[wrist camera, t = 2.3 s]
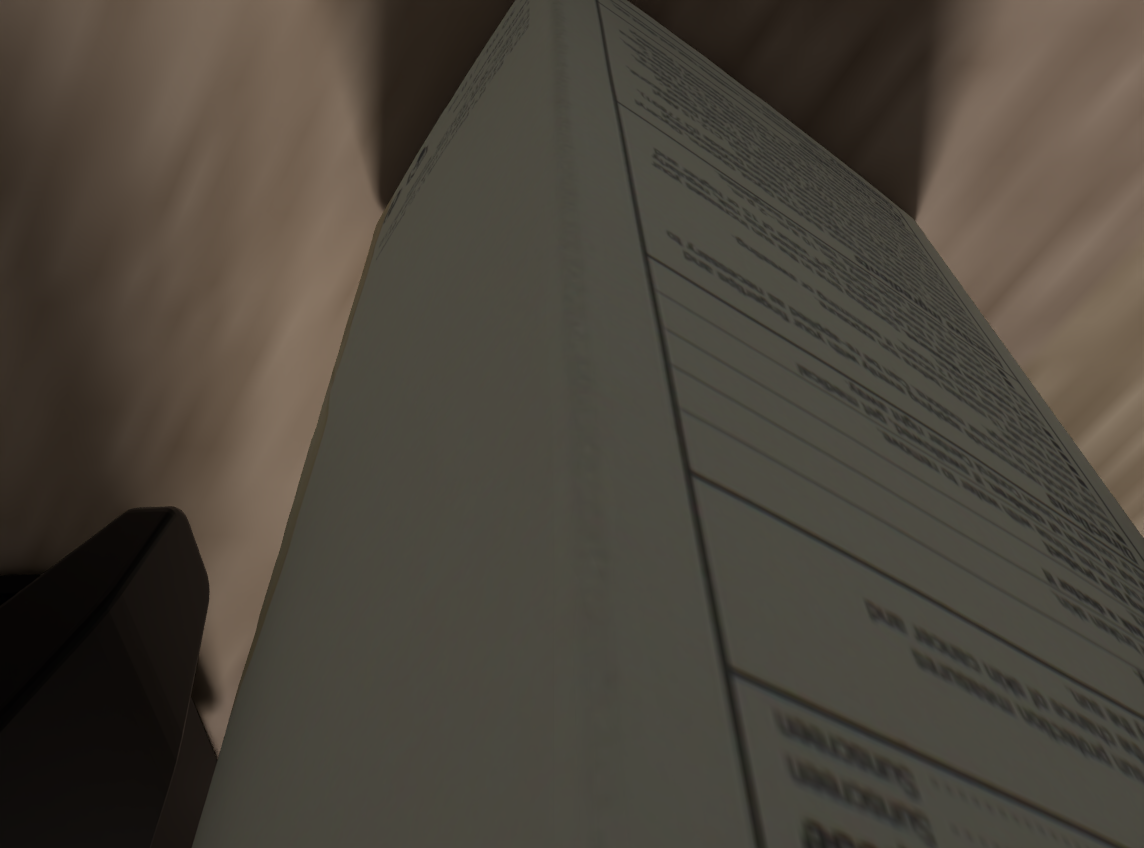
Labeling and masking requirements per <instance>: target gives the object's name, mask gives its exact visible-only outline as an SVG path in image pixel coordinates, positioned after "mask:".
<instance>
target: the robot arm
mask: <svg viewBox="0 0 1144 848" xmlns="http://www.w3.org/2000/svg"><path fill="white" fill-rule="evenodd" d="M208 604H209V581H208V576H207V572H206V569H205V567H204V564H203V561H202V558H201V555H200V553H199V550H198V547H197V544H196V541H195V538H194V536H193V533H192V530H191V527H190V524H189V522H188V519H187V517H186V515H185V514H184V513H183V512H182V510H180V509H178V508H176V507H172V506H168V507H143V508H134V509H130V510H128V511H126V512H125V513H123V514H122V515H120V516H119V517H118V518H116V519H115V520H114V521H112V522H111V523H110V524H108V525H107V526H106V527H105V528H103V529H102V530H101V531H99V532H98V533H97V534H95V535H94V536H93V537H91V538H90V539H89V540H87V541H86V542H85V543H83V544H82V545H81V546H79V547H78V548H77V549H75V550H74V551H73V552H71V553H70V554H69V555H67V556H66V557H65V558H63V559H62V560H61V561H59V562H58V563H57V564H55V565H54V566H53V567H51V568H50V569H49V570H48V571H46V572H45V573H44V574H42V575H16V576H0V848H192V845H193V842H194V838H195V835H196V832H197V828H198V825H199V821H200V818H201V815H202V811H203V808H204V805H205V801H206V798H207V795H208V791H209V788H210V784H211V781H212V778H213V774H214V771H215V767H216V764H217V759H216V757H215V754H214V752H213V749H212V747H211V745H210V742H209V740H208V737H207V735H206V732H205V730H204V727H203V725H202V723H201V720H200V718H199V715H198V713H197V710H196V708H195V705H194V703H193V700H192V698H191V692H192V687H193V682H194V676H195V671H196V666H197V661H198V656H199V651H200V646H201V640H202V635H203V630H204V625H205V620H206V615H207V610H208Z"/></svg>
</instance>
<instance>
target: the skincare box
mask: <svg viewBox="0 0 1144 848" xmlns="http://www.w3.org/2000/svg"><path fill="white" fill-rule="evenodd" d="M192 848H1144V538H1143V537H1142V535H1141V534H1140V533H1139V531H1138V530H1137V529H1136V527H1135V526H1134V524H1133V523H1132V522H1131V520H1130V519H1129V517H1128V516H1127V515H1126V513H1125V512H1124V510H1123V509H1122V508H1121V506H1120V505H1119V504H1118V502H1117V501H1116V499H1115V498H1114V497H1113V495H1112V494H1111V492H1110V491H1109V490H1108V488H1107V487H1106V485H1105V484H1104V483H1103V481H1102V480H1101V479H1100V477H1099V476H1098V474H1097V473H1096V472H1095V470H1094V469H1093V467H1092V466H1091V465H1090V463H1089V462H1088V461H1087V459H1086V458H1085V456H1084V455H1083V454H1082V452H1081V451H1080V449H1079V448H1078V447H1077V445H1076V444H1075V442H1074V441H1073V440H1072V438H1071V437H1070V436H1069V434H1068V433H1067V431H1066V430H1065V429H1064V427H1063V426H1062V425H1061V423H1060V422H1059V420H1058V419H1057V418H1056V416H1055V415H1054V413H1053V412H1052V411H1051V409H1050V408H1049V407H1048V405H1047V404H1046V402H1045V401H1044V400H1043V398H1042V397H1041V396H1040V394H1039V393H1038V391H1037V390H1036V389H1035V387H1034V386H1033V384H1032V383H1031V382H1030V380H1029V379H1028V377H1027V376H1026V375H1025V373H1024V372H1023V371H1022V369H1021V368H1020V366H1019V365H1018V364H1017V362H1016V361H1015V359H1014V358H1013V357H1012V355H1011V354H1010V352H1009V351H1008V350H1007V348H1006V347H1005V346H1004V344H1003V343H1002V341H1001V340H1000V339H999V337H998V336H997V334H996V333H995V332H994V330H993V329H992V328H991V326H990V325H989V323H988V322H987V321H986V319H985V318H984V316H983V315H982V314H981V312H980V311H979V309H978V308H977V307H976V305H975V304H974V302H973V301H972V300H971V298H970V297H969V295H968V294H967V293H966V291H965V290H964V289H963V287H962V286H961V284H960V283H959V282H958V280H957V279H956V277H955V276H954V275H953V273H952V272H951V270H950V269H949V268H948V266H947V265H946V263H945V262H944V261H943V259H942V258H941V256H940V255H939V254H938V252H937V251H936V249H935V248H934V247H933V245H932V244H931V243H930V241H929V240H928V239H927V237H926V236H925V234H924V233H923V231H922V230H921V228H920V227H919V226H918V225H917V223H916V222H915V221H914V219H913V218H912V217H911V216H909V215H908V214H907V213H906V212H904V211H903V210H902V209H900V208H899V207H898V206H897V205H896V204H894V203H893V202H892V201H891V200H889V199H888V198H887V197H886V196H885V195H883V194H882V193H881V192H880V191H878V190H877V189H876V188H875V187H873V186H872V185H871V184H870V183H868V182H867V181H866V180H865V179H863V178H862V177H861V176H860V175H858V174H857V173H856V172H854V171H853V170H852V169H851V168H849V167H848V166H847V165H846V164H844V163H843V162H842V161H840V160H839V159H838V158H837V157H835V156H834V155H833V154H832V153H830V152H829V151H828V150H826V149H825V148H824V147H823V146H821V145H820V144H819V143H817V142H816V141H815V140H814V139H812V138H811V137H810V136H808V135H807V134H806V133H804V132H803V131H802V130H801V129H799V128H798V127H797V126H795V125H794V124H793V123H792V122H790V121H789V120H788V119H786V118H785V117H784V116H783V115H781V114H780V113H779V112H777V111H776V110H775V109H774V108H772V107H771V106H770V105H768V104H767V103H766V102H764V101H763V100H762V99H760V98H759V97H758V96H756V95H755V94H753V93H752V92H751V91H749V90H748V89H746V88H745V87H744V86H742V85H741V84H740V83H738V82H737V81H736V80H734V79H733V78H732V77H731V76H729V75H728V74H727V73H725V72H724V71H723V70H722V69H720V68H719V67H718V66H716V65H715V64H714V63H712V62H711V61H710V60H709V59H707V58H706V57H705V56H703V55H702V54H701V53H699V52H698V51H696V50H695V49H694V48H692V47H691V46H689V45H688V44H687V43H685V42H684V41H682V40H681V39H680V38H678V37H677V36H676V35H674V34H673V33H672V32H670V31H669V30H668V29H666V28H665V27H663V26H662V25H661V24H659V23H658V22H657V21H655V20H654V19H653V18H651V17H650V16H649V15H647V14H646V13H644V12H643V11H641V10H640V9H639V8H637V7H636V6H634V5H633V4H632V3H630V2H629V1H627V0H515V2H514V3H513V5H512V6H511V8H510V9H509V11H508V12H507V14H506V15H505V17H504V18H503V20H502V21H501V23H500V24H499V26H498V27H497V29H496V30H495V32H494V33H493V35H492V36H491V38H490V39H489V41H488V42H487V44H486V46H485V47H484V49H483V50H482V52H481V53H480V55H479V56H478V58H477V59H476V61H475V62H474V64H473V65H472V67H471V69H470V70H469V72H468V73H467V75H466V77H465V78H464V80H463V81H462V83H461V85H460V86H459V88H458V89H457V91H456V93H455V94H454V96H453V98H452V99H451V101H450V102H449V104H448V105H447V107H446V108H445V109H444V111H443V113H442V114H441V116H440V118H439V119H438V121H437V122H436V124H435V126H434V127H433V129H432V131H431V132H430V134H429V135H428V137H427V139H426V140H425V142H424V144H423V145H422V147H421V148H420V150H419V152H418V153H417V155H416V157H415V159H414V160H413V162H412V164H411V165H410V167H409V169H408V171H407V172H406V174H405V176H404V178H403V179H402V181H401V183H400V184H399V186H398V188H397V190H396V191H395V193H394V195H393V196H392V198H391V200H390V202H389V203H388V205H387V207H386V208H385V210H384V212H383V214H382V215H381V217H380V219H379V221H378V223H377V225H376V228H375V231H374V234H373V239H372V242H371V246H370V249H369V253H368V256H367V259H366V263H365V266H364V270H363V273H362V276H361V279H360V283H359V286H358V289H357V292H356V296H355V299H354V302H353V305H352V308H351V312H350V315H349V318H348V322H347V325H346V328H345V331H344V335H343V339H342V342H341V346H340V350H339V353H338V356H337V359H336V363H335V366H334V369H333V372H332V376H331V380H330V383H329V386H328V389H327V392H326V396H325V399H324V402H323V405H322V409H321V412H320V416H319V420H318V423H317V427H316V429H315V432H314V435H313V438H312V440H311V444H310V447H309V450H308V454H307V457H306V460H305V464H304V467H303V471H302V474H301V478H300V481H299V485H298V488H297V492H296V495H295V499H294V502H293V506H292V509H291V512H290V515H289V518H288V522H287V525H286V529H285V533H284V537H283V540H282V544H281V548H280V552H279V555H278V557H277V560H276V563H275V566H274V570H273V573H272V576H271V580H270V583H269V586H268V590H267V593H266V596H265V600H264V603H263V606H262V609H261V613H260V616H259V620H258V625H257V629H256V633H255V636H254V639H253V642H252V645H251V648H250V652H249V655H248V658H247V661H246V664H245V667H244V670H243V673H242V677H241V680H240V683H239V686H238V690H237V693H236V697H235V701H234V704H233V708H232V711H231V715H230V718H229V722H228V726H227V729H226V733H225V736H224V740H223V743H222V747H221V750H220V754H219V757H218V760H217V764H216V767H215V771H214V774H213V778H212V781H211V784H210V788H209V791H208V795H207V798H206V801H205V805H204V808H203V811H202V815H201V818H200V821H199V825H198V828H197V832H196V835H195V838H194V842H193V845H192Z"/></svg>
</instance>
